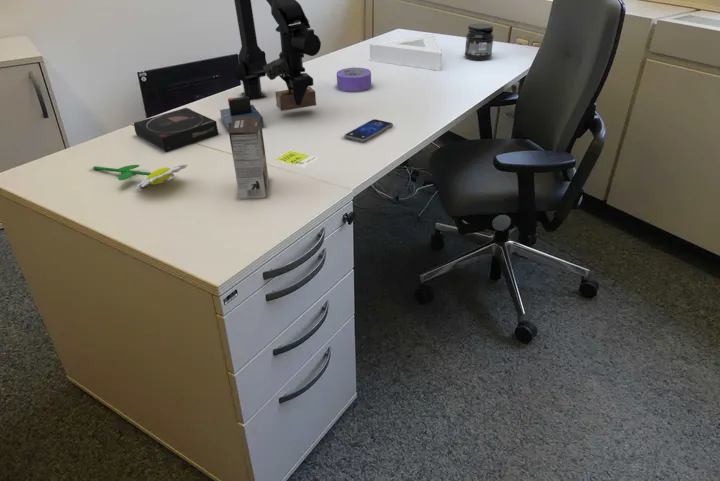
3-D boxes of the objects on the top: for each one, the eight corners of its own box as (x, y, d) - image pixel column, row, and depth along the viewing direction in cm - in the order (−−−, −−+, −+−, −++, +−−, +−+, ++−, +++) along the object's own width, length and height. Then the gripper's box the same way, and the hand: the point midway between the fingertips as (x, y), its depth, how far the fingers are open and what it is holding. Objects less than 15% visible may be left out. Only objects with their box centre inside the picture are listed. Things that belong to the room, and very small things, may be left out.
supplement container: (475, 52, 224) (478, 21, 218) (496, 57, 218) (500, 25, 211) (458, 57, 218) (461, 25, 212) (480, 62, 212) (483, 30, 205)
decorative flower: (76, 187, 135) (160, 199, 121) (69, 169, 133) (154, 179, 118) (119, 170, 145) (201, 179, 130) (113, 152, 143) (196, 159, 128)
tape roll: (331, 90, 188) (330, 75, 185) (345, 80, 197) (344, 66, 194) (363, 93, 184) (363, 78, 181) (376, 83, 193) (376, 68, 190)
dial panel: (221, 119, 166) (219, 109, 165) (254, 114, 170) (253, 104, 168) (229, 133, 157) (227, 122, 155) (264, 127, 160) (263, 116, 159)
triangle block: (440, 70, 204) (441, 53, 201) (370, 71, 205) (370, 54, 201) (432, 49, 229) (433, 34, 226) (370, 51, 230) (369, 35, 226)
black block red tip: (250, 110, 163) (248, 95, 161) (251, 112, 162) (249, 96, 159) (230, 113, 161) (227, 98, 159) (231, 115, 160) (229, 100, 158)
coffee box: (242, 181, 132) (232, 116, 123) (269, 179, 132) (261, 115, 123) (238, 199, 124) (227, 132, 115) (267, 198, 124) (258, 130, 115)
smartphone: (342, 135, 152) (373, 118, 162) (342, 138, 152) (373, 121, 162) (364, 140, 148) (394, 123, 158) (364, 143, 148) (394, 126, 159)
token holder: (310, 100, 171) (309, 85, 168) (316, 105, 167) (315, 89, 165) (276, 105, 168) (275, 90, 165) (281, 110, 164) (279, 95, 161)
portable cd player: (187, 119, 167) (185, 107, 164) (218, 134, 156) (216, 121, 154) (136, 135, 157) (132, 122, 155) (165, 152, 147) (162, 138, 145)
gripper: (256, 45, 163) (262, 97, 171) (273, 60, 148) (278, 116, 157) (292, 41, 166) (296, 91, 175) (312, 55, 152) (315, 110, 161)
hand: (295, 102), depth 167 cm, fingers closed on token holder, 5 cm apart
